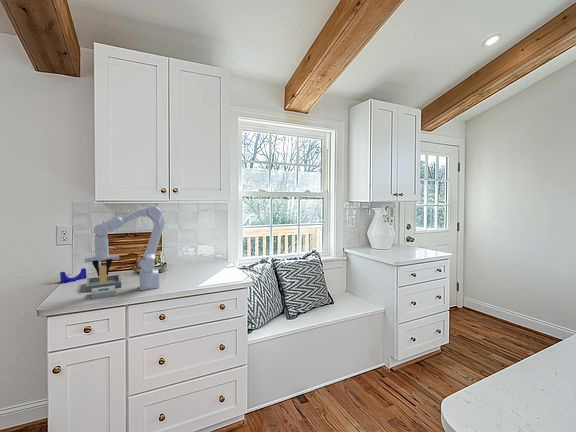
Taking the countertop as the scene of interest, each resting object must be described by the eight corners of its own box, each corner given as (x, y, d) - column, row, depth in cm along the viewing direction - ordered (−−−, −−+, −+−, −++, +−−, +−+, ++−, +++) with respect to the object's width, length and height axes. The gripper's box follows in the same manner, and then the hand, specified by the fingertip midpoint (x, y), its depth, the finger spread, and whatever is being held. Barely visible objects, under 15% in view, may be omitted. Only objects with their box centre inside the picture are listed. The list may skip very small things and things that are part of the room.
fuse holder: (115, 290, 156) (114, 285, 156) (115, 295, 148) (115, 290, 148) (92, 293, 151) (92, 288, 151) (91, 299, 143) (91, 294, 143)
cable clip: (63, 283, 169) (62, 273, 168) (60, 282, 171) (60, 272, 171) (87, 279, 178) (87, 269, 178) (84, 277, 181) (84, 268, 181)
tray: (120, 279, 177) (119, 274, 177) (121, 287, 161) (121, 281, 161) (87, 283, 169) (87, 278, 168) (85, 292, 153) (85, 286, 153)
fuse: (106, 280, 151) (106, 265, 151) (106, 282, 149) (106, 266, 148) (99, 281, 150) (99, 265, 149) (99, 283, 147) (99, 267, 147)
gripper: (83, 250, 141) (84, 279, 142) (118, 247, 148) (120, 274, 149) (84, 248, 147) (85, 275, 148) (118, 246, 154) (119, 271, 155)
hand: (103, 275), depth 149 cm, fingers closed on fuse, 3 cm apart
